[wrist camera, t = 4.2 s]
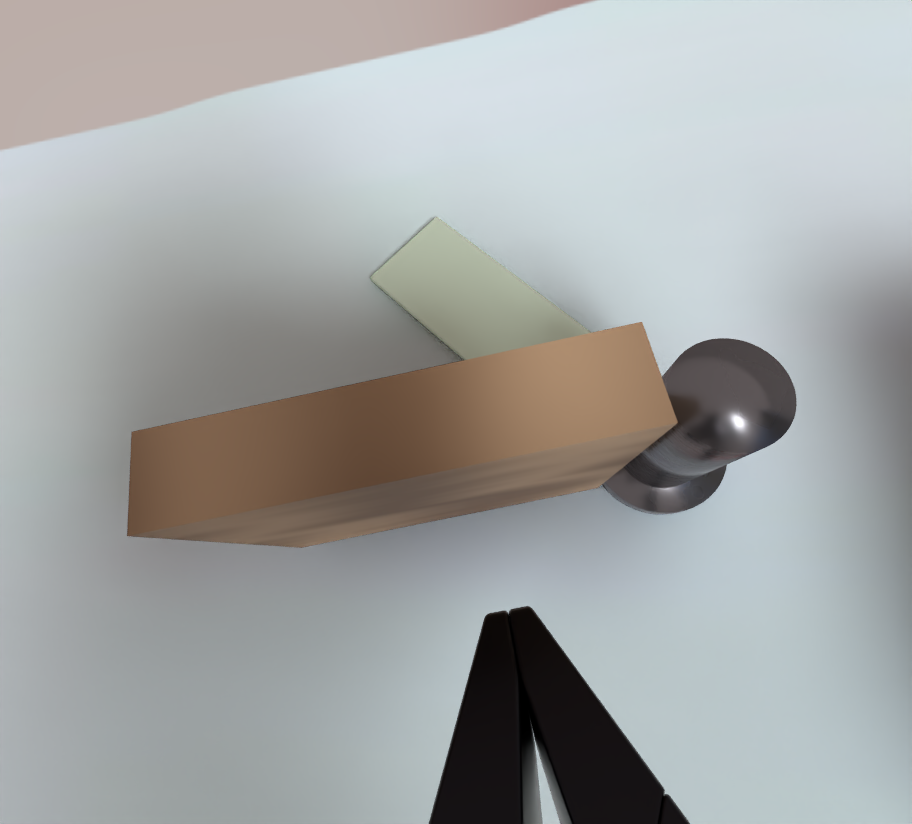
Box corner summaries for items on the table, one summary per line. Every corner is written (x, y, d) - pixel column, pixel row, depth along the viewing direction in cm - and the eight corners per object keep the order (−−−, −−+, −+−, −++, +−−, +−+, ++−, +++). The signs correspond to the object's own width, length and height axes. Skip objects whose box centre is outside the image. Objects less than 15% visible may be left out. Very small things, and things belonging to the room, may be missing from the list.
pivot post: (691, 538, 15) (798, 525, 10) (568, 475, 16) (601, 431, 11) (738, 426, 16) (860, 354, 11) (620, 373, 17) (674, 282, 12)
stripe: (621, 360, 18) (623, 356, 17) (551, 435, 17) (552, 433, 17) (437, 221, 20) (436, 216, 20) (372, 281, 20) (369, 277, 20)
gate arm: (581, 429, 16) (641, 321, 9) (597, 487, 15) (677, 423, 8) (296, 488, 16) (131, 432, 9) (301, 547, 16) (127, 536, 8)
